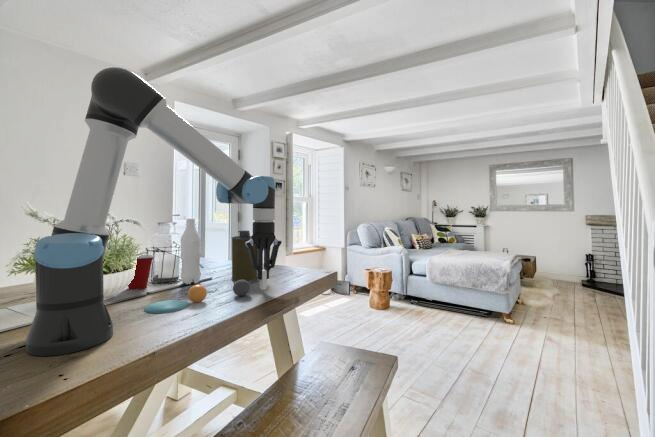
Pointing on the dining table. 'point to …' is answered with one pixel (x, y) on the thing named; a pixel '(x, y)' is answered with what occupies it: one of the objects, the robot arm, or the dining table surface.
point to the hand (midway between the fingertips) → (263, 288)
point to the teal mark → (166, 306)
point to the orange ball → (197, 293)
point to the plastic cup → (141, 272)
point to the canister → (242, 258)
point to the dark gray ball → (241, 287)
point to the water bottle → (190, 253)
